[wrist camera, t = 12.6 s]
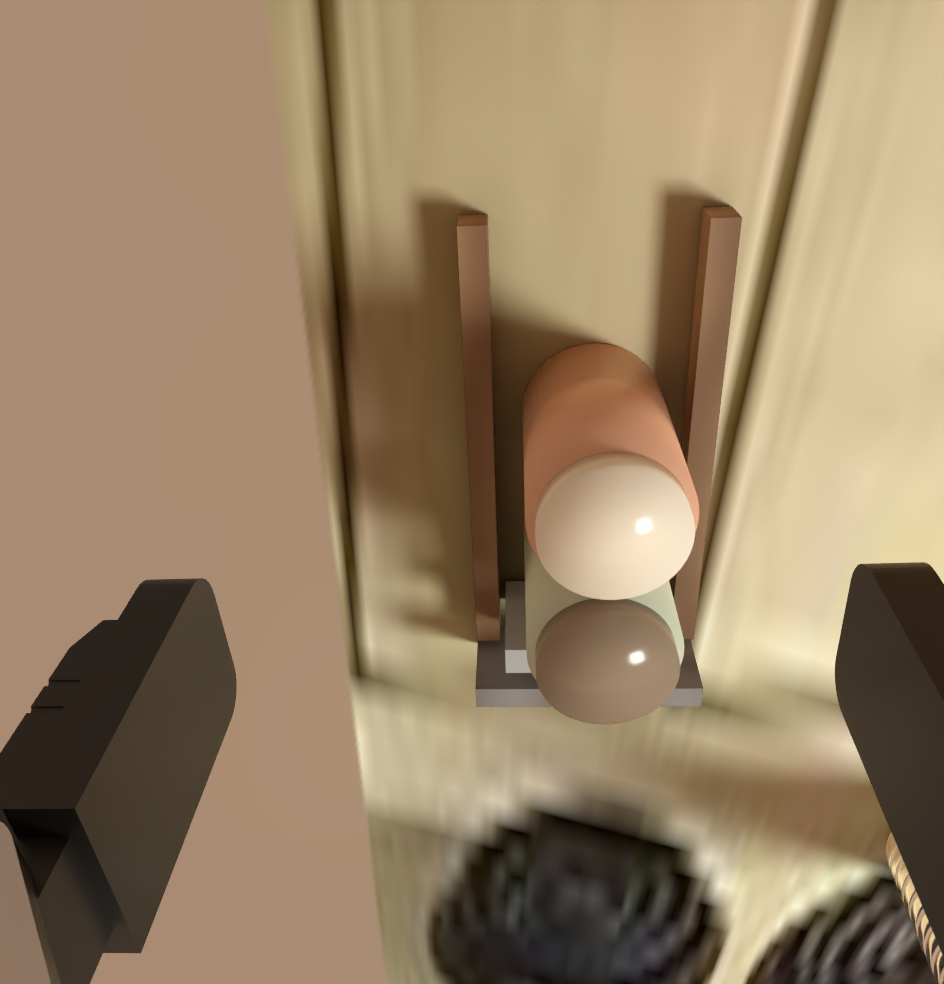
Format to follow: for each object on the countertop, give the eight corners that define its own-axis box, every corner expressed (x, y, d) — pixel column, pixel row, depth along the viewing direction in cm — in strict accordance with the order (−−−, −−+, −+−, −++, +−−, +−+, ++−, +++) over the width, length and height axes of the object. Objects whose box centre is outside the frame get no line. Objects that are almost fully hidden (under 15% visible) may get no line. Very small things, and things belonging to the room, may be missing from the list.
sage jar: (671, 487, 36) (714, 630, 28) (626, 588, 39) (655, 744, 31) (545, 456, 36) (554, 592, 28) (508, 560, 38) (507, 711, 31)
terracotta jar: (637, 480, 36) (670, 621, 28) (508, 453, 36) (507, 589, 28) (681, 360, 33) (732, 480, 25) (542, 329, 33) (550, 441, 25)
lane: (732, 206, 30) (760, 238, 27) (684, 643, 40) (700, 706, 37) (458, 215, 31) (452, 247, 27) (479, 644, 41) (476, 706, 37)
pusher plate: (662, 579, 38) (679, 649, 34) (660, 601, 39) (677, 672, 35) (505, 581, 39) (505, 650, 35) (506, 602, 39) (505, 673, 35)
